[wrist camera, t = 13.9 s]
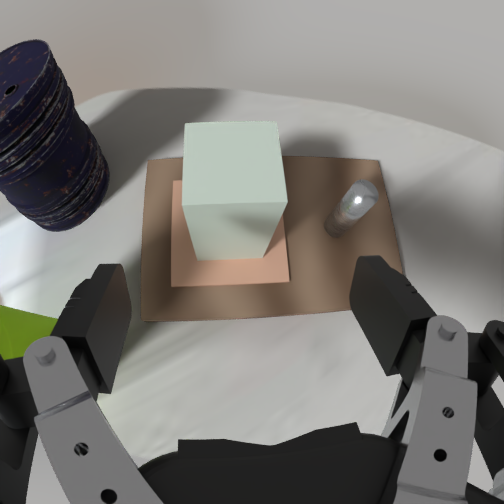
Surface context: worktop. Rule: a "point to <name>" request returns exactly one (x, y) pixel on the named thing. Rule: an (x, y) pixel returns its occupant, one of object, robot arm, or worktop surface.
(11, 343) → the lime green stepped cylinder
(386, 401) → the worktop surface
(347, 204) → the steel post
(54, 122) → the dark blue ridged cylinder
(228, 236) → the pale mint tall block
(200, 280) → the terracotta pad
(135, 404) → the worktop surface
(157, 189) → the walnut board
